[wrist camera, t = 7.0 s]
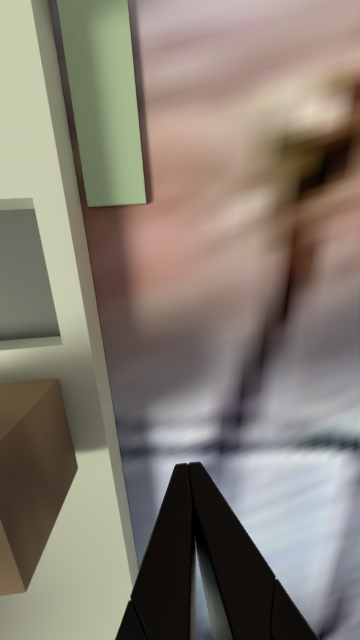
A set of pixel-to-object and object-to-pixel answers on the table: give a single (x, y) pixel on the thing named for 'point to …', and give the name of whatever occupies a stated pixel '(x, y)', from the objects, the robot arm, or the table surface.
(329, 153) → the table surface
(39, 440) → the walnut block
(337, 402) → the table surface
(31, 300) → the trap tray
